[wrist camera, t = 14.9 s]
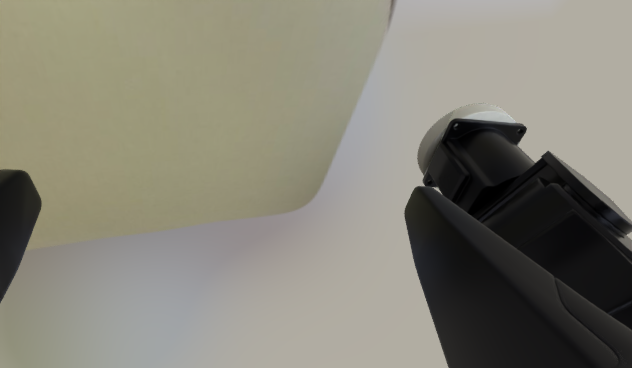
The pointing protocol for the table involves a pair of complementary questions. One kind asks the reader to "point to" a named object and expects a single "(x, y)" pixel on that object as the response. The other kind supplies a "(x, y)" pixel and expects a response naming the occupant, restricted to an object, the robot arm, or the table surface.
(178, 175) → the table surface
